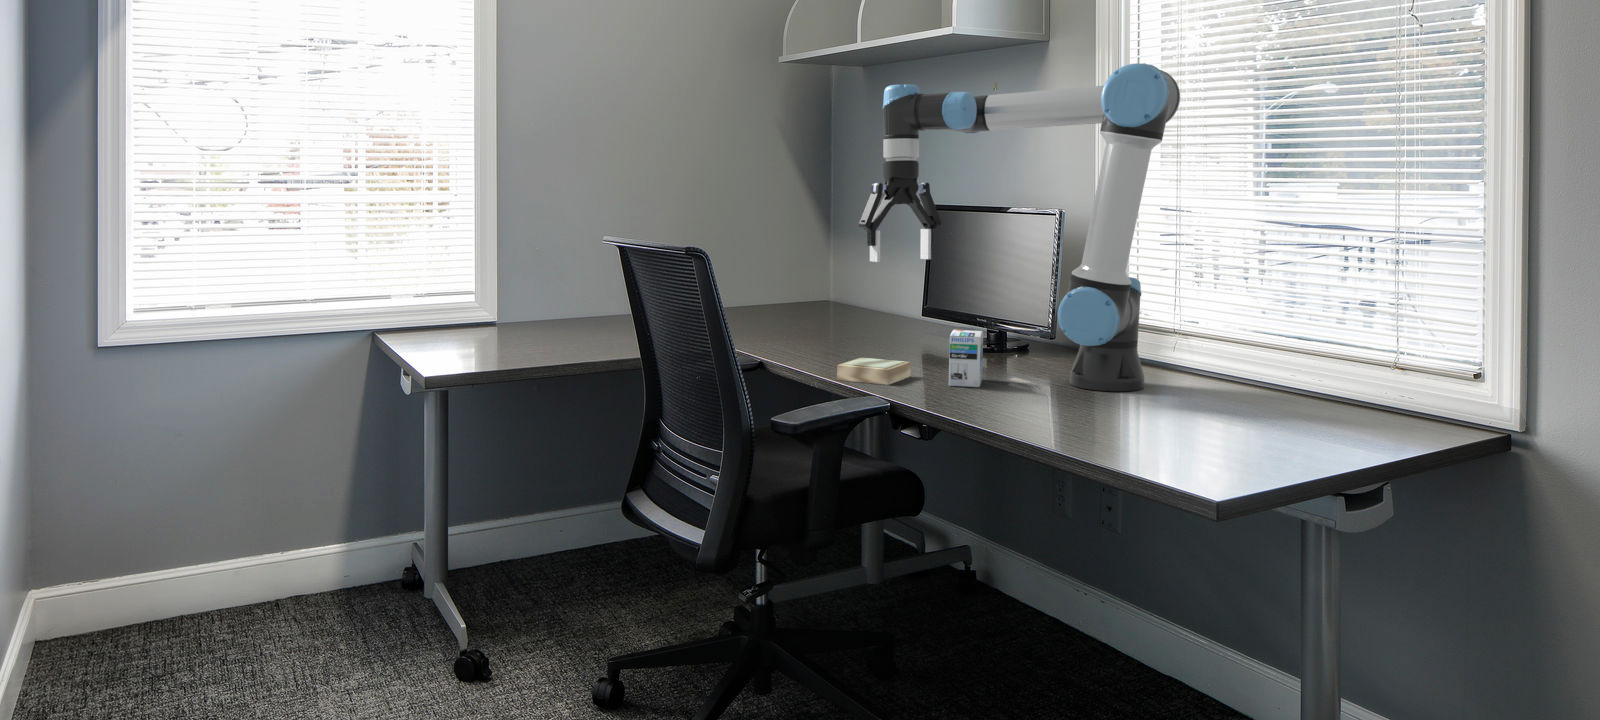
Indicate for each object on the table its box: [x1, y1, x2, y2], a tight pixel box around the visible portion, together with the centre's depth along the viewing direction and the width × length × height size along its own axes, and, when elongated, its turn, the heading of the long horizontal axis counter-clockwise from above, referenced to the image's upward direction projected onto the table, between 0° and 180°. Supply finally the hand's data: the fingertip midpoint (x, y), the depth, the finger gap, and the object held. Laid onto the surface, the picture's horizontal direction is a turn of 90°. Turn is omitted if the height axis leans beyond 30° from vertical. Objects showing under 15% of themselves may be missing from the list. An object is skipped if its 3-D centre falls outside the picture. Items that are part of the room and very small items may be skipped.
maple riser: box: [836, 357, 912, 386], centre depth 242 cm, size 12×12×3 cm
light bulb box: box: [948, 329, 984, 388], centre depth 237 cm, size 11×7×11 cm, turn 168°
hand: (900, 260), depth 240 cm, fingers open, 13 cm apart
